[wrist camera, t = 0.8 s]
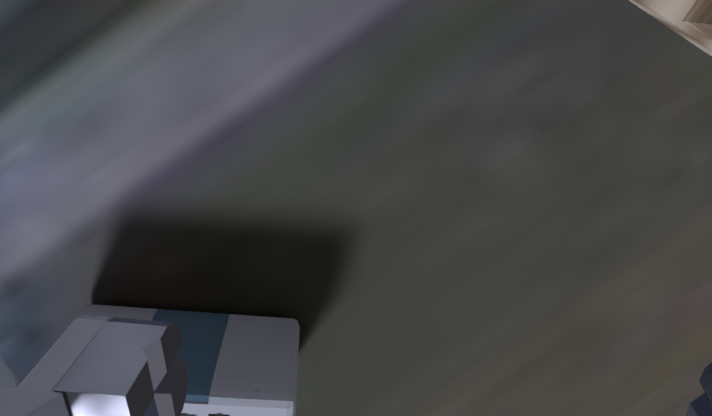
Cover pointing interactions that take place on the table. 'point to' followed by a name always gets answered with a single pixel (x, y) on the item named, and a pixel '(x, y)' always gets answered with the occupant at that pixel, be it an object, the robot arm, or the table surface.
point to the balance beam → (684, 18)
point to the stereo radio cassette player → (229, 359)
